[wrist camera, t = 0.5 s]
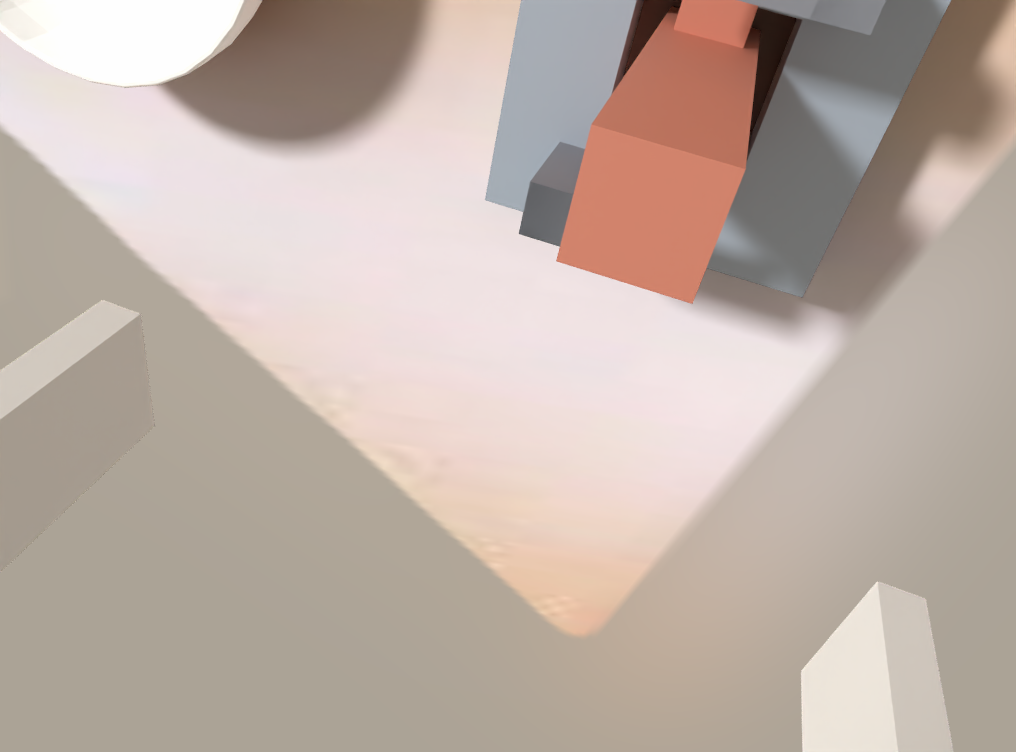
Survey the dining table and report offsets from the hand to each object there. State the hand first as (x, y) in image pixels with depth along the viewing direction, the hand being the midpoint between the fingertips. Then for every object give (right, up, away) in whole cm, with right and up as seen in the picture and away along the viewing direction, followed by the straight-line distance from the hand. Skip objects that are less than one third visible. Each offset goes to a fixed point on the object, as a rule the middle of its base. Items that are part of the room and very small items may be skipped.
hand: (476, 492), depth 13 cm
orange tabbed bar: (+9, +16, +21) cm, 28 cm away
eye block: (+9, +16, +21) cm, 28 cm away
